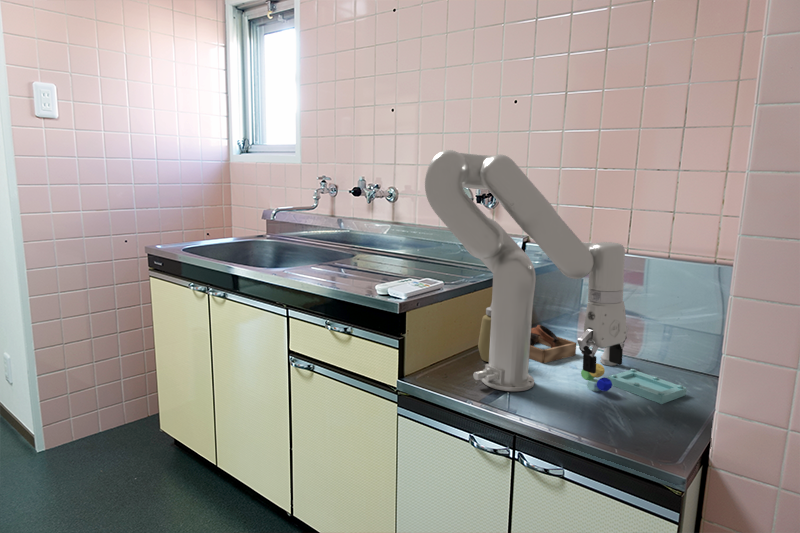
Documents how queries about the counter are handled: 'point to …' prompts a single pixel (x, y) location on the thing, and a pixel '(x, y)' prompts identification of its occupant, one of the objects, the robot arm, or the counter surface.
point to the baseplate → (647, 386)
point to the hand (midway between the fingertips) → (602, 367)
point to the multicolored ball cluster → (595, 384)
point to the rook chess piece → (606, 358)
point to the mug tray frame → (553, 351)
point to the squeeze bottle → (485, 335)
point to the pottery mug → (543, 335)
